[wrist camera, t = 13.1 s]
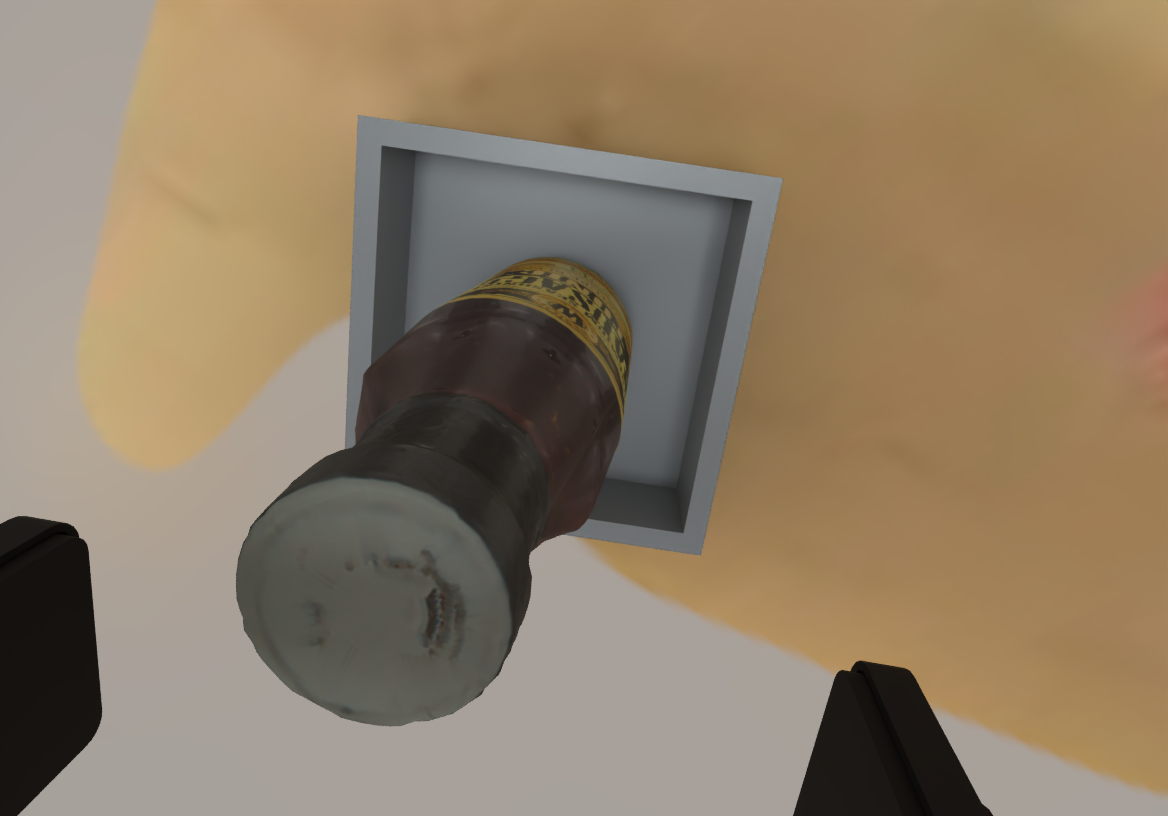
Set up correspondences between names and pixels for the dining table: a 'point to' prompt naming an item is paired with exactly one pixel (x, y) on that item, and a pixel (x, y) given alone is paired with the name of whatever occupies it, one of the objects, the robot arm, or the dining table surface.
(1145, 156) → the dining table surface
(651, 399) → the box
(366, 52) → the dining table surface
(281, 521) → the sauce bottle
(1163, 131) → the dining table surface
